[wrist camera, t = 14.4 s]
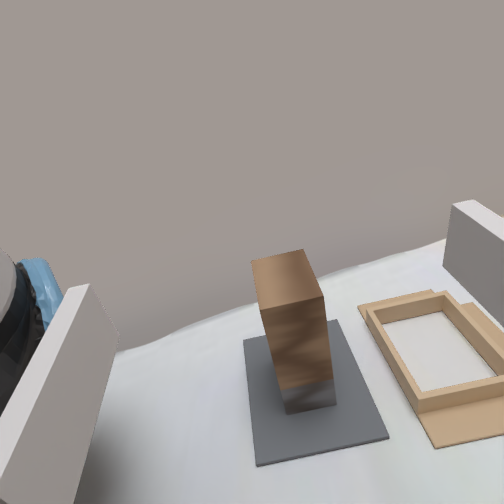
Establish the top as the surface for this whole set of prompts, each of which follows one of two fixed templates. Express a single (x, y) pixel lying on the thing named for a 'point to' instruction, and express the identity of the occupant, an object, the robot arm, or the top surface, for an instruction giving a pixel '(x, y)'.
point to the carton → (453, 397)
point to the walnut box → (295, 330)
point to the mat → (315, 421)
